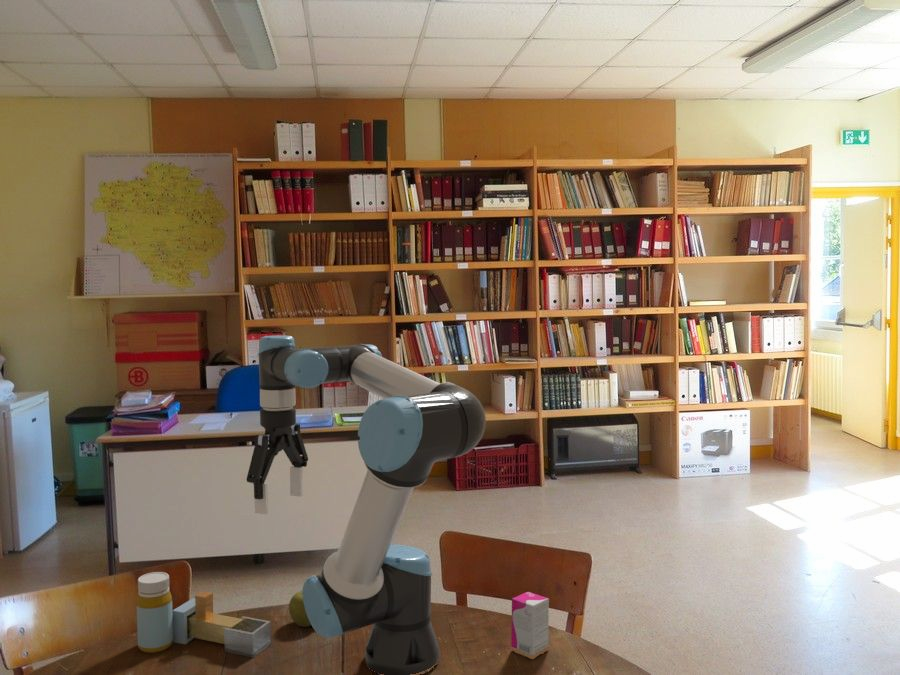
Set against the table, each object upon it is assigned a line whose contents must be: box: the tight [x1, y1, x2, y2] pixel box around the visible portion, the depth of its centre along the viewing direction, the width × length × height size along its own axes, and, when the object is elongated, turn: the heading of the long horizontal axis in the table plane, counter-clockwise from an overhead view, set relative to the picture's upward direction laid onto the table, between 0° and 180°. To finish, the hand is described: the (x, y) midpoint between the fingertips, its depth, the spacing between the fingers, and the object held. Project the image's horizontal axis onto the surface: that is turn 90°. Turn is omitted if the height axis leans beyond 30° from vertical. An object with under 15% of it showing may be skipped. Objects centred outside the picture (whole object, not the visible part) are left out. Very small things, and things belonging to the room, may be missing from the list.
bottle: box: [136, 571, 174, 654], centre depth 166 cm, size 7×7×15 cm
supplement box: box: [510, 591, 550, 655], centre depth 164 cm, size 6×6×12 cm
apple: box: [288, 589, 312, 628], centre depth 177 cm, size 8×8×7 cm
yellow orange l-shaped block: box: [187, 590, 244, 645], centre depth 168 cm, size 13×4×9 cm, turn 69°
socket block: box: [172, 597, 195, 645], centre depth 171 cm, size 3×7×7 cm, turn 159°
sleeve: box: [224, 616, 272, 659], centre depth 166 cm, size 7×6×5 cm
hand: (279, 504), depth 171 cm, fingers open, 13 cm apart
